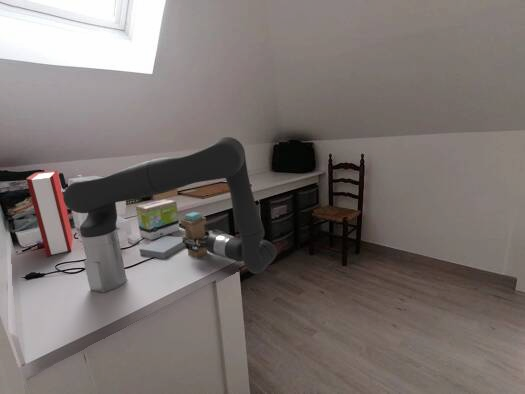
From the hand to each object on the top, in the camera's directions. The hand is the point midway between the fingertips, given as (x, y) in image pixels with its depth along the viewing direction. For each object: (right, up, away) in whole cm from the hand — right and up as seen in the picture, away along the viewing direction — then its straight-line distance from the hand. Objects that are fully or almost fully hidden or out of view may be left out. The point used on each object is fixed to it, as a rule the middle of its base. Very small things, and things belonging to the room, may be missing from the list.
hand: (193, 236), depth 101 cm
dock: (-13, -6, +7) cm, 16 cm away
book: (-64, -7, +20) cm, 68 cm away
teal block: (+1, +6, -2) cm, 6 cm away
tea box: (-22, -3, +26) cm, 34 cm away
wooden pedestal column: (+2, -7, +1) cm, 7 cm away
